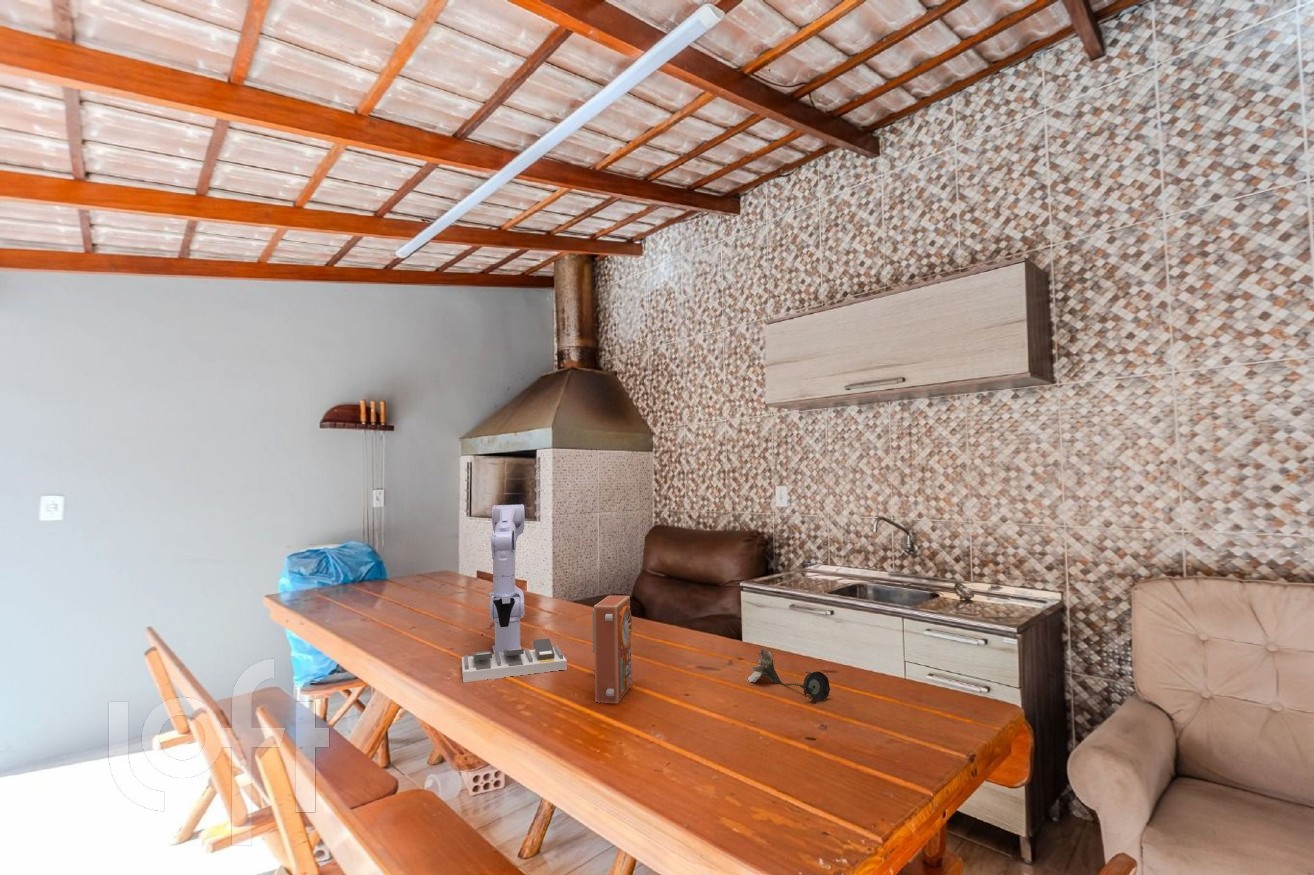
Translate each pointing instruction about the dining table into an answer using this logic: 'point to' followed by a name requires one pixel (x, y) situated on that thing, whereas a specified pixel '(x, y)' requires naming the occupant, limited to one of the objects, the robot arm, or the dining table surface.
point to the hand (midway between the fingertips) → (504, 626)
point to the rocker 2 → (543, 649)
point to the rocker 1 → (482, 655)
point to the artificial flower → (812, 685)
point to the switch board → (510, 665)
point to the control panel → (612, 648)
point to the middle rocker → (513, 652)
